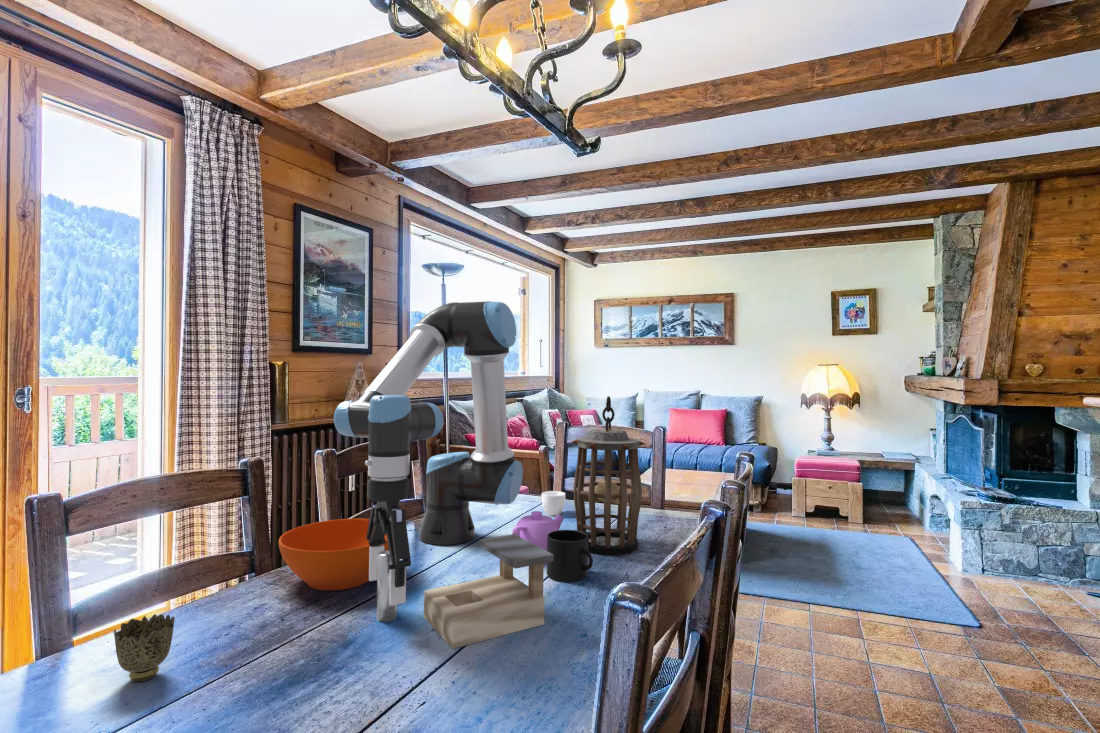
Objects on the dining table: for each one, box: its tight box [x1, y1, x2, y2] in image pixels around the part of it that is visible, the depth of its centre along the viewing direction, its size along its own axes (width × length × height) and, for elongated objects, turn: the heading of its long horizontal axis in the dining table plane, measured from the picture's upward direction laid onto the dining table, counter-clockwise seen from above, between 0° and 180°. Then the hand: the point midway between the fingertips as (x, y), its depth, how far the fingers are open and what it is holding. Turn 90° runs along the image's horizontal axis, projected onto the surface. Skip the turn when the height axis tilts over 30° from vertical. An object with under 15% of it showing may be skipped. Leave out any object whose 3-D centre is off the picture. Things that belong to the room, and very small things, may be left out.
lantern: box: [571, 395, 646, 557], centre depth 152 cm, size 19×19×40 cm
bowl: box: [278, 518, 389, 591], centre depth 126 cm, size 25×25×10 cm
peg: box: [376, 550, 398, 623], centre depth 107 cm, size 4×4×12 cm
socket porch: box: [423, 533, 554, 650], centre depth 106 cm, size 15×20×13 cm
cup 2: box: [113, 613, 176, 683], centre depth 85 cm, size 8×7×8 cm
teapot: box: [511, 510, 564, 551], centre depth 145 cm, size 14×20×11 cm
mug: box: [546, 529, 594, 583], centre depth 129 cm, size 9×12×9 cm
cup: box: [541, 490, 566, 517], centre depth 185 cm, size 8×10×7 cm
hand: (386, 591), depth 107 cm, fingers open, 13 cm apart
